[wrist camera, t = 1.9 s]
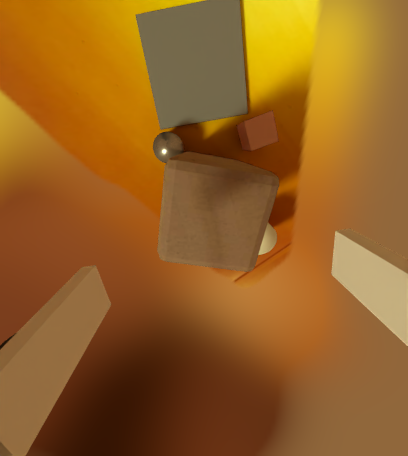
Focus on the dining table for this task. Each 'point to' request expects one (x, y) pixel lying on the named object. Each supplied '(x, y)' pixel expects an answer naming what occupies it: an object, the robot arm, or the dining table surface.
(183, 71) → the mat
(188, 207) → the wooden block
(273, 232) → the cream rounded cylinder
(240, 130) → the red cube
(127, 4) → the dining table surface
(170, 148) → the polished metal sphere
